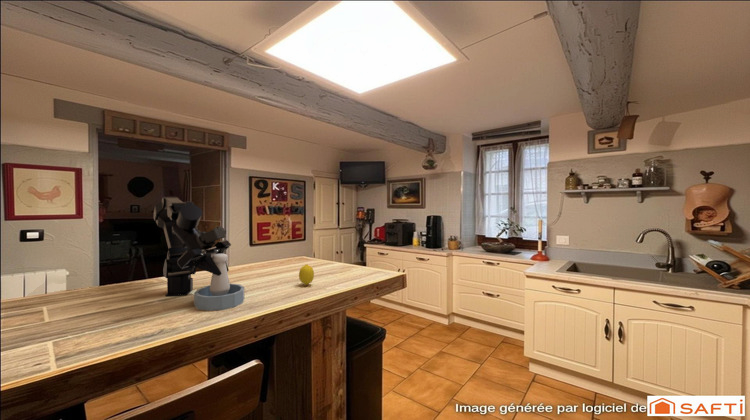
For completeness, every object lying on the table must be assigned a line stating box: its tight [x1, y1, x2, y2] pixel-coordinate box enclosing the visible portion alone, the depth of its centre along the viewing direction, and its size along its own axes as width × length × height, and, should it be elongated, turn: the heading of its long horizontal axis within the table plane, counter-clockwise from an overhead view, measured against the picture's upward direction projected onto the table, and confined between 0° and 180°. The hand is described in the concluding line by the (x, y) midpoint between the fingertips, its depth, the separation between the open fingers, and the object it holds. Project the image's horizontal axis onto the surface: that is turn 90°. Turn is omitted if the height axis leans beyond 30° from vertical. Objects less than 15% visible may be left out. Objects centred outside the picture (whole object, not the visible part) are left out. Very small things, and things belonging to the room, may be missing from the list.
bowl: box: [193, 282, 245, 312], centre depth 99 cm, size 14×14×4 cm
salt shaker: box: [209, 253, 230, 296], centre depth 98 cm, size 6×6×13 cm
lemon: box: [298, 264, 315, 286], centre depth 119 cm, size 6×6×8 cm
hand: (224, 273), depth 98 cm, fingers closed on salt shaker, 3 cm apart
